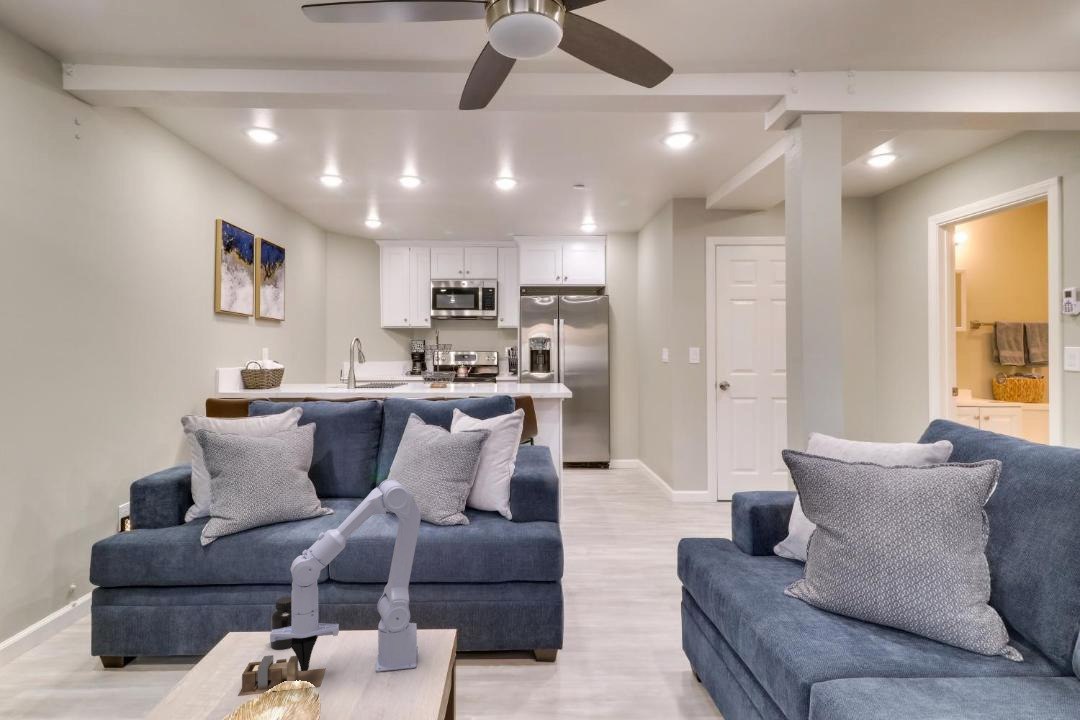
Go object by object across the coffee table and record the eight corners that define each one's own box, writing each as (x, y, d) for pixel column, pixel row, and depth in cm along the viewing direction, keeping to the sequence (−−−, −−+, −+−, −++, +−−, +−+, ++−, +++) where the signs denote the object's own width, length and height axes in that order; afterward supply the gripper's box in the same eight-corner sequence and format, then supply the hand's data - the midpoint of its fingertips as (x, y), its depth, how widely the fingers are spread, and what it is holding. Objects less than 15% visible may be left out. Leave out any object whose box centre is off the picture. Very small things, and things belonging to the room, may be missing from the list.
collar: (273, 676, 130) (273, 655, 130) (267, 689, 125) (267, 666, 125) (264, 677, 130) (264, 656, 130) (257, 690, 125) (257, 667, 125)
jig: (326, 671, 134) (326, 652, 134) (319, 690, 126) (319, 669, 126) (248, 679, 131) (248, 659, 131) (237, 699, 123) (237, 678, 123)
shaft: (298, 674, 131) (298, 655, 131) (294, 683, 127) (294, 663, 127) (256, 679, 129) (256, 659, 129) (251, 687, 125) (251, 667, 125)
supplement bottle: (288, 654, 142) (288, 606, 142) (264, 651, 143) (264, 604, 144) (305, 641, 149) (305, 595, 149) (282, 638, 150) (282, 593, 150)
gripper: (340, 599, 135) (340, 656, 135) (275, 604, 132) (275, 663, 132) (336, 612, 128) (336, 672, 128) (267, 618, 125) (267, 679, 125)
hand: (305, 668), depth 129 cm, fingers closed
